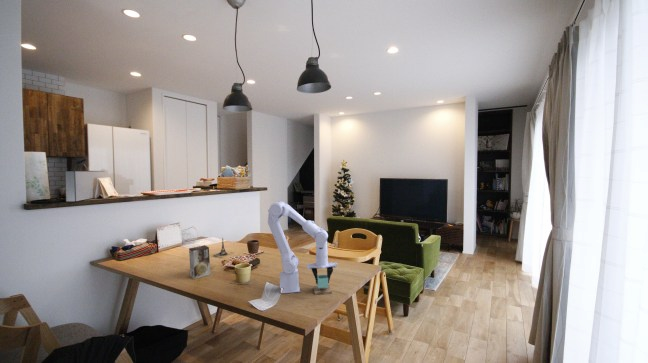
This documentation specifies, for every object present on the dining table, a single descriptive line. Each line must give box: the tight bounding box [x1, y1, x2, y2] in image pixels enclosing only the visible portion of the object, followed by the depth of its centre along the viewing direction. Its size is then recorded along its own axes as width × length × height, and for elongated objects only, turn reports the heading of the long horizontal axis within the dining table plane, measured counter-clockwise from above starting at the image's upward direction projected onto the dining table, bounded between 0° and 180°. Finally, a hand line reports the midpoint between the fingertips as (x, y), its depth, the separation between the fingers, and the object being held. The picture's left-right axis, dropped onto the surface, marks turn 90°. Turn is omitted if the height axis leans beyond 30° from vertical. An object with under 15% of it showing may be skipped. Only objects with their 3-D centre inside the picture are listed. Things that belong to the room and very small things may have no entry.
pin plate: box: [313, 284, 333, 296], centre depth 140 cm, size 8×8×4 cm
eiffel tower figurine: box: [212, 237, 228, 259], centre depth 203 cm, size 15×10×13 cm
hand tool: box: [247, 257, 261, 266], centre depth 174 cm, size 19×4×5 cm, turn 154°
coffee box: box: [188, 244, 211, 280], centre depth 163 cm, size 9×6×16 cm
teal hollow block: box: [316, 274, 329, 288], centre depth 140 cm, size 5×5×4 cm
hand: (322, 282), depth 140 cm, fingers closed on teal hollow block, 5 cm apart
